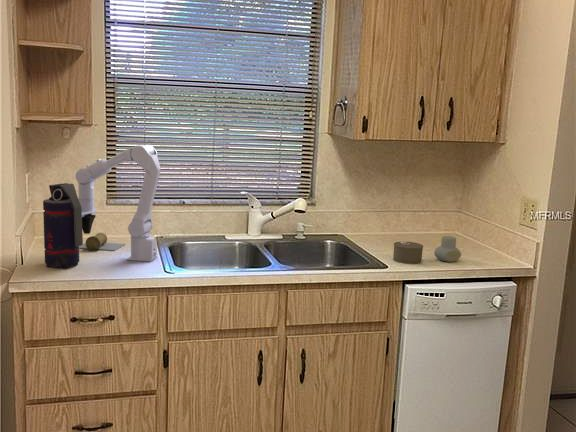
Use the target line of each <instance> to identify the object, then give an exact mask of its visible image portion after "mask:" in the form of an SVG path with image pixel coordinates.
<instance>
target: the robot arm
mask: <svg viewBox="0 0 576 432" xmlns="http://www.w3.org/2000/svg"><path fill="white" fill-rule="evenodd" d="M126 161H134V162H135V163H136V164H137V165H139V166H140V167H141V168H142V169H143V170H144V172H145V174H144V177H143V182H142V187H141V192H140V195H139V200H138V205H137V208H136V212H135V213H134V215H133V216H132V220H131V222H130V223H129V225H128V227H127V229H128V234H129V235H130V256H129V257H128V258H127V261H138V262H139V261H140V262H152V261H154V260H155V259H156V258H158V256H157V252H158V251H157V249H158V248H157V243H158V242H157V241H158V240H157V237H154V236H151V230H152V229H153V222H152V221H153V216H152V213H151V212H152V210H153V209H152V208H153V204H154V201H155V195H156V191H157V187H158V182H159V179H160V174H161V166H160V160H159V157H158V151H157V150H156V148H155V147H154V146H152V145H151V144H148V143H147V144H143V145H135V146H134V147H130V148H127V149H125V150H123V151H122V152H120V153H118V154H116V155H114V156H112V157H111V158H109V159H106V158H98V159H96V160H95V162H94V163H92V164H87V165H86V166H85V168H79V169H77V171H76V172H75V177H74V178H75V180H76V182H77V184H78V186H77V187H78V188H77V189H78V199H79V202H80V204H81V208H82V234H83V235H84V234H85V235H87V234H88V235H89V234H91V232H92V231H91V230H92V227H93V224H94V220H95V218H96V214H94V213H97V212H98V210H97V209H98V208H97V207H95V185H94V184H95V181H96V180H98V179H100V178H101V177H104V176H105V175H107V174H109V173H111V171H112V168H113V167H116V166H118V165H120V164H122V163H124V162H126Z"/></svg>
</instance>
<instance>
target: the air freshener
mask: <svg viewBox="0 0 576 432" xmlns="http://www.w3.org/2000/svg"><path fill="white" fill-rule="evenodd" d="M440 242H441V243H440V246H437V247H436V248H435V249H434V252H433V254H434V256H435V258H436V259H438V260H440V261H441V262H445V263H454V262H456V261H458V260H459V259H460V258H461V257H462V252H461V250H460V249H458V247H456V246H457V237H455V236H450V235H443V236H442V237H441V241H440Z"/></svg>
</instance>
